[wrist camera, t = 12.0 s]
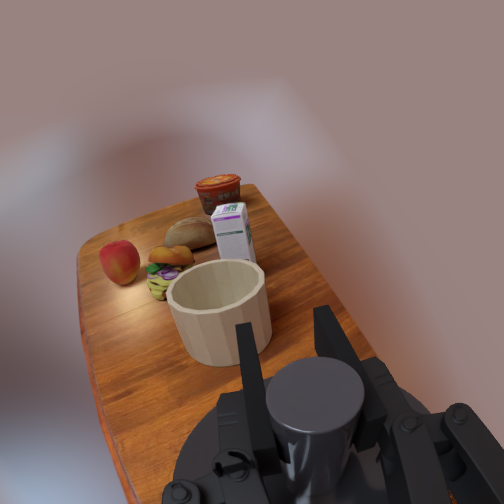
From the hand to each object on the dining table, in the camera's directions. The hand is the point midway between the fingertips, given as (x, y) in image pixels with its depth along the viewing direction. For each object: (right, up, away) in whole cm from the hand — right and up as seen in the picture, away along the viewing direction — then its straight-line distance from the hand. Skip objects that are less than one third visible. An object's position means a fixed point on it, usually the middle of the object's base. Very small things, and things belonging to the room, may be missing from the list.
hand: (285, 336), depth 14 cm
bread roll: (-16, +5, +62) cm, 64 cm away
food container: (-12, +19, +89) cm, 92 cm away
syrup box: (-4, -1, +45) cm, 45 cm away
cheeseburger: (-18, -3, +46) cm, 49 cm away
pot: (-5, -8, +30) cm, 32 cm away
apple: (-31, -3, +51) cm, 59 cm away
